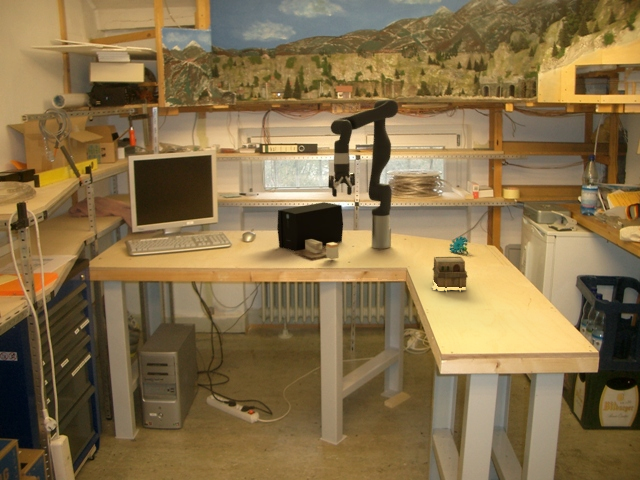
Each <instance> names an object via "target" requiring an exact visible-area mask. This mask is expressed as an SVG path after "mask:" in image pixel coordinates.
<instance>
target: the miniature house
mask: <svg viewBox="0 0 640 480" xmlns="http://www.w3.org/2000/svg"><path fill="white" fill-rule="evenodd" d="M432 271H433V275H432V277H433V278H432V279H433V280H434V282H435V283H436V284H437V286H438V287H445V288H447V287H459V288H462V287H466V288H467V278H469V277H468V273H467V272H468V271H466V262H465V260H464V258H463V257H462V256H433V267H432Z"/></svg>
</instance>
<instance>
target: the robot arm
mask: <svg viewBox="0 0 640 480" xmlns="http://www.w3.org/2000/svg"><path fill="white" fill-rule="evenodd" d="M398 111H399V104H398V103H397V101H396V100H394V99H390V98H384V99H383V98H382V99H377V100H376V101H375V102H374V105H373V108H370V109H366V110H362V111H359V112H356V113H354V114H351V115H349V116H344V117H340V118H337V119H335V120H333V121H332V122H331V125H330V130H331V132H332V133H333V134H334V135H339V139H337V140H335V141H334V145H333V146H334V147H333V149H334V150H333V151H334V152H333V153H334V154H333V172H334V174H333V175H331V174H329V176H328V184H327V185H328V188H329V189H331V191H332V192H331V193H332V197H335V198H337V197H338V195H337V194H338V190H337V188H338V186H339V185H341V184H346V191H347V192H346V195H348V196H352V195H351V194H352V192H353V191H352V190H353V189H352V187H353V186H354V187H355V186H356V174H355V173H353V172H350V171H351V168H350V164H351V162H350V160H351V159H350V142H351V138H352V133H353V131H354V130H358V129H360V128H362V127H364V126H367V125H370V124H371V123H373V142H372V143H373V145H372V155H371V156H372V158H371V159H372V160H371V171H370V177H369V179H370V180H369V185H368V198H369V199H370V200H371V201H373V202H379V206H376V207H374V208H372V209H371V248H372V249H378V250H379V249H380V250H381V249H388V248H390V247H391V246H392V228H390V227H391V226H390V225H391V224H390V222H391V221H390V217H391V214H390V212H391V209H392V208H391V207H392V192H393V191H392V186H391V184H389V183H381V177H382V176H381V175H382V172H383V171H384V169H385V168H386V167H387V164H388V163H389V161H390V160H391V152H392V143H391V139H390V136H389V135H388V132H387V129H386V119H391V118H393V117H395V116H396V115H397V114H398Z"/></svg>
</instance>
